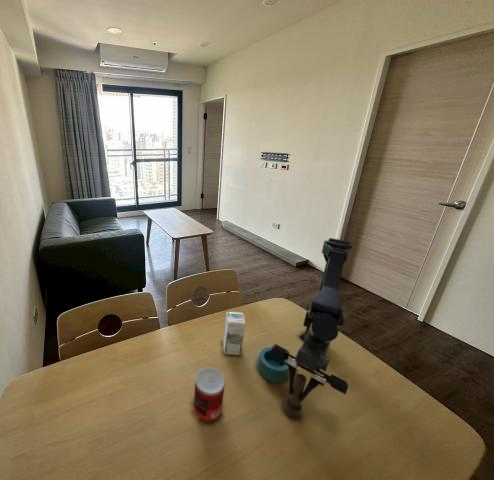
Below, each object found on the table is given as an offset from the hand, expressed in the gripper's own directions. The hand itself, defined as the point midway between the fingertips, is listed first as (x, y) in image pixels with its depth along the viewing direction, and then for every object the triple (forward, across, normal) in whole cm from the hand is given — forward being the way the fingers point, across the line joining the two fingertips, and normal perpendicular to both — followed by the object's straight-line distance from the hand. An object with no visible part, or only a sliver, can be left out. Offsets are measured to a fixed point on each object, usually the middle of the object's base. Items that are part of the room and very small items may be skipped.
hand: (294, 398), depth 66 cm
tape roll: (-3, -10, +12) cm, 16 cm away
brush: (+4, 0, +6) cm, 7 cm away
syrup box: (-2, -24, +11) cm, 26 cm away
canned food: (+15, -18, -5) cm, 23 cm away
